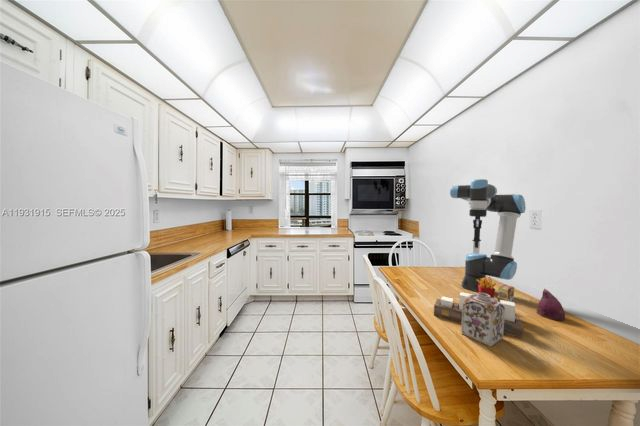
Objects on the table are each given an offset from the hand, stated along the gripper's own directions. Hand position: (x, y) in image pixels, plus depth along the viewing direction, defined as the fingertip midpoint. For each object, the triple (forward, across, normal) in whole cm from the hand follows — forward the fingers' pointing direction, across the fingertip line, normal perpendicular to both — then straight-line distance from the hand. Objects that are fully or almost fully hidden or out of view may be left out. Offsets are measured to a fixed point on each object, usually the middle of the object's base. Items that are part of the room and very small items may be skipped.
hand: (476, 253), depth 127 cm
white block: (+25, +17, -3) cm, 30 cm away
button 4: (+25, +17, +13) cm, 33 cm away
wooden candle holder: (+30, +17, 0) cm, 34 cm away
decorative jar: (+30, +31, +3) cm, 43 cm away
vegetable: (+31, -13, +33) cm, 47 cm away
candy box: (+30, +3, +13) cm, 33 cm away
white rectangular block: (+29, +17, -11) cm, 35 cm away
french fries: (+30, -12, +4) cm, 33 cm away
